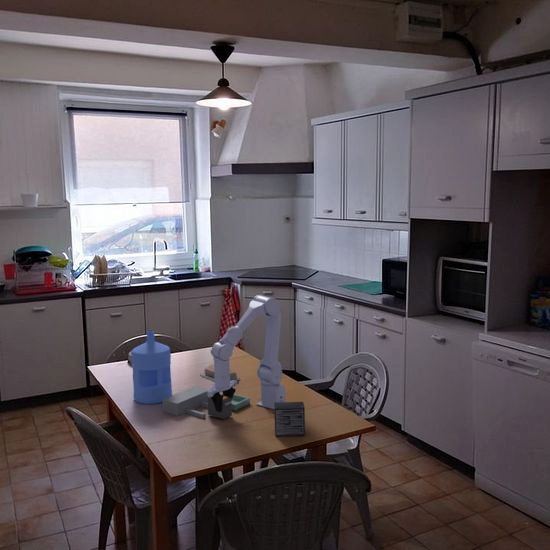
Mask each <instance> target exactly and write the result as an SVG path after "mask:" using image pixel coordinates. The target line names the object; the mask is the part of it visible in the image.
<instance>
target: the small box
mask: <svg viewBox="0 0 550 550" xmlns="http://www.w3.org/2000/svg"><path fill="white" fill-rule="evenodd" d="M305 410H306V407H305V404H304V401H285V402H276V403H274V409H273V411H274V435H275V437H277V438H278V437H280V438H281V437H283V436H285V437H305V436H306V419H305V417H306V415H305V414H306V413H305ZM283 438H284V437H283Z"/></svg>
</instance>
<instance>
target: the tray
mask: <svg viewBox="0 0 550 550" xmlns="http://www.w3.org/2000/svg"><path fill="white" fill-rule="evenodd" d="M220 395H223V392H222V393H220ZM231 403H232V412H237V411H239V410H241V409H242V408H245V407H247V406H249V405H250V404H251V398H250V397H248V396H243V395H240V394H236V393H234V395H233V398H232V401H231Z"/></svg>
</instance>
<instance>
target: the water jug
mask: <svg viewBox="0 0 550 550" xmlns="http://www.w3.org/2000/svg"><path fill="white" fill-rule="evenodd" d="M131 351H132V365H133V366H132V381H133V400H134V401H135V402H136V403H139V404H142V405H143V404H144V405H156V404H161V403H162V404H163V399H164V398H167V397H170V396H172V395H173V389H172V374H171V373H172V372H171V365H172V363H171V357H172V355H171V354H172V353H171V348H170V346H168V345H166V344H165V343H164V344H163V343H160V342H157V341H156V340H155V331H153V330H151V331H146V342H144V343H142V344H140V345H138V346H136V347H134V348H133V349H132V350H131Z"/></svg>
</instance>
